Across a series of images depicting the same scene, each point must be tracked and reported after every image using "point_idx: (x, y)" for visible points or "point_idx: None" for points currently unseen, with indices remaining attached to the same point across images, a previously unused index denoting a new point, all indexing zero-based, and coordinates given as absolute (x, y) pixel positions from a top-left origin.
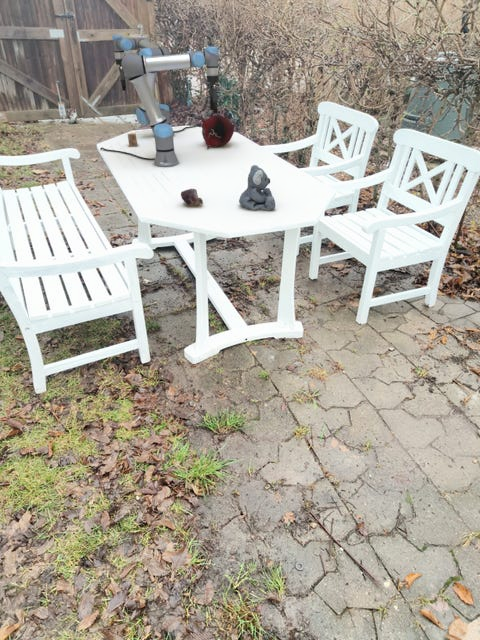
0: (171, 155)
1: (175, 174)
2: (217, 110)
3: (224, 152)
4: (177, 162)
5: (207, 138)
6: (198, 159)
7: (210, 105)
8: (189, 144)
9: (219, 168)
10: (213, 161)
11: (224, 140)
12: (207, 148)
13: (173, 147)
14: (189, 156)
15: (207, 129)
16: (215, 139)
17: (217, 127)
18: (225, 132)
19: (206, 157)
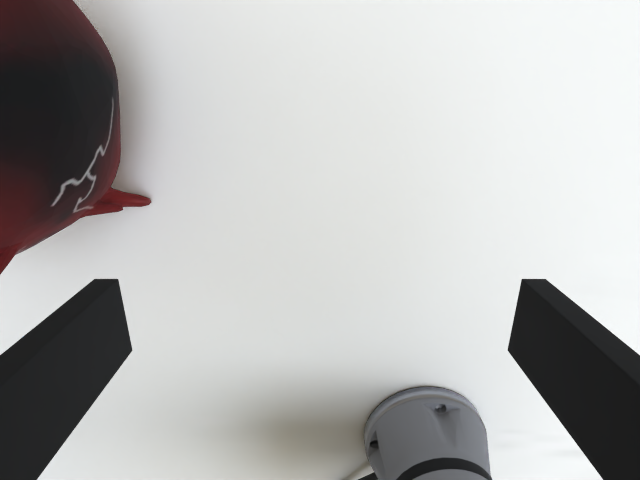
0: (483, 453)
1: None
2: (582, 309)
3: (249, 90)
4: (452, 395)
5: (88, 215)
6: (388, 283)
7: (84, 412)
8: (10, 299)
9: (628, 188)
10: (461, 202)
11: (114, 66)
12: (148, 203)
13: (473, 475)
14: (309, 323)
15: (34, 234)
16: (115, 151)
17: (47, 140)
18: (80, 47)
19: (355, 233)
